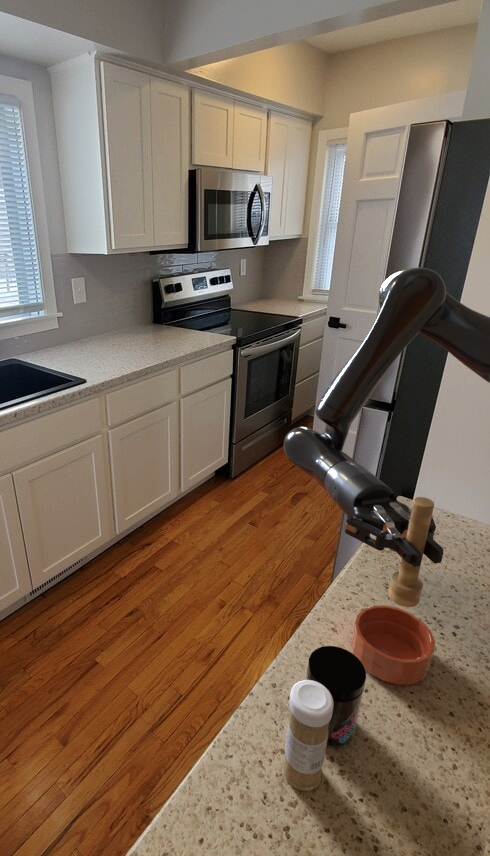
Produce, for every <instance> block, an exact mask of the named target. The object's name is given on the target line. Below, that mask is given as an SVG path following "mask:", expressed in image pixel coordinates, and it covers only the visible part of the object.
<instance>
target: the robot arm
mask: <svg viewBox="0 0 490 856" xmlns="http://www.w3.org/2000/svg"><path fill="white" fill-rule="evenodd" d="M378 304H379V308H380V310H379V312H378V315H377V317H376V319H375V321H374V322H373V325H372V326H371V328H370V330H369V331H368V334H367V335H366V336H365V338H364V340H363V341H362V342H361V344H360V345H359V347H358V348H357V349H356V351H355V352H354V353H353V354H352V355H351V356H350V358H349V359H348V360H347V361H346V363H345V364H344V365H343V366H342V368H341V369H340V370H339V371H338V372H337V374H336V375H335V377H334V378H333V380H332V381H331V383H330V384H329V386H328V387H327V388H326V391H325V392H324V394H323V395H322V397H321V399H320V400H319V401H318V403H317V405H316V407H315V410H314V412H315V416H316V417H317V418H318V419H319V420H320V421H321V422H323V423H324V424H325V428H324V431H323V432H319V431H318V430H315V429H312V428H309V427H306V426H297V427H295V428H293V429H291V430H290V431H289V432H287V433H286V435H285V437H284V440H283V452H284V454H285V456H286V458H287V460H288V461H289V462H290V463H291V464H293V465H294V466H295V467H296V468H298V469H299V470H301V471H303V472H304V473H306V474H307V475H309V476H310V477H312V478H313V479H314V480H315V481H316V482H317V483H318V484H319V485H320V486H321V487H322V489H323V490H325V492H327V494H328V495H329V498H331V500H332V501H333V502H334V503H335V504H336V506H337V507H338V508H340V509H341V510H342V512H343V513H344V514H345V515H346V520H345V526H344V533H345V534H346V535H348V536H350V537H351V538H354V539H355V540H358V541H359V542H361V543H363V544H365V545H368V547H370V548H373V549H375V550H376V551H382V552H383V551H384V550H385V549H389V550H390V551H391V552H395V553H396V554H397V555H398V556H399V557H400V558H401V560H402V559H403V560H404V561H405V562H407V563H409V564H411V565H412V566H413V567H418V566H420V565H422V562H421V561H423V557H422V553H421V552H420V551H419V550H418V549H417V548H416V547H415V546H414V545H413V544H412V543H411V542H409V541H408V540H407V539H406V535H407V530H408V525H409V520H410V516H411V511H412V508H409V506H408V505H407V504H405V503H402V502H400V501H399V500H398V499H397V497H396V494H395V493H394V492H393V490H392V489H391V488H390V487H389V486H388V485H386V484H385V482H383V481H382V480H380V478H378V477H377V476H376V475H375V474H373V473H372V472H371V471H370V470H369V469H368V468H366V467H364V466H363V465H361V464H360V463H358V462H356V461H355V460H354V459H353V458H352V457H350V456H349V455H348V454H347V453H346V452H344V451H343V450H344V447H345V443H346V441H347V437H348V435H349V432H350V428H351V427H352V424H353V422H354V421H355V419H356V418H357V416H358V415H359V414H360V412H361V410H362V409H363V408H364V406H365V405H366V403H367V402H368V400H369V399H370V397H371V396H372V394H373V393H374V391H375V390H376V388H377V386H378V385H379V384H380V382H381V380H382V379H383V378H384V377H385V375H386V373H387V372H388V370H389V369H390V368H391V366H392V365H393V364H394V363H395V361H396V360H397V358H398V357H399V356H400V355H401V354H402V353H403V351H404V350H405V349H406V347H408V345H409V344H410V343H411V342H412V341H413V339H414V338H415V337H416V336H417V335H418V334H420V335H422V336H425V337H426V338H428V339H430V340H431V341H433V342H435V343H436V344H438V345H439V346H440V347H442V348H443V349H444V350H446V351H447V352H448V353H449V354H451V355H452V356H453V357H454V358H455V359H456V360H457V361H459V362H460V363H462V365H464V366H465V367H466V368H468V369H469V370H470V371H472V372H473V373H475V374H476V375H477V376H479V377H480V378H481V379H483V380H484V381H485V382H487V383H489V384H490V316H489V315H485V314H483V313H481V312H478V311H476V310H474V309H472V308H470V307H468V306H467V305H465V304H463V303H462V302H460V301H459V300H458V299H456V298H455V297H454V296H452V295H451V294H449V293H448V292H447V287H446V284H445V281H444V279H443V278H442V276H441V275H440V274H439V273H438V272H436V271H435V270H433V269H430V268H428V267H410V268H405V269H402V270H399V271H397V272H394V273H393V274H391V275H390V276H389V277H388V278H386V279H385V281H384V282H383V283H382V285H381V288H380V289H379V292H378ZM436 530H437V526H436V523H435V520H434V517H433V516H432V517H431V522H430V526H429V530H428V535H427V539H426V544H425V548H424V553H423V555H424V556H425V557H426V558H427V559H429V560H430V561H431V562H432V563H433V564H441V563H442V561H443V557H444V548H443V547H442V546H441V545H440V544H439V543H438V542H437V541H435V540H434V537H435V532H436ZM371 535H372V536H375V539H374V538H372V537H371ZM420 567H421V566H420Z"/></svg>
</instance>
